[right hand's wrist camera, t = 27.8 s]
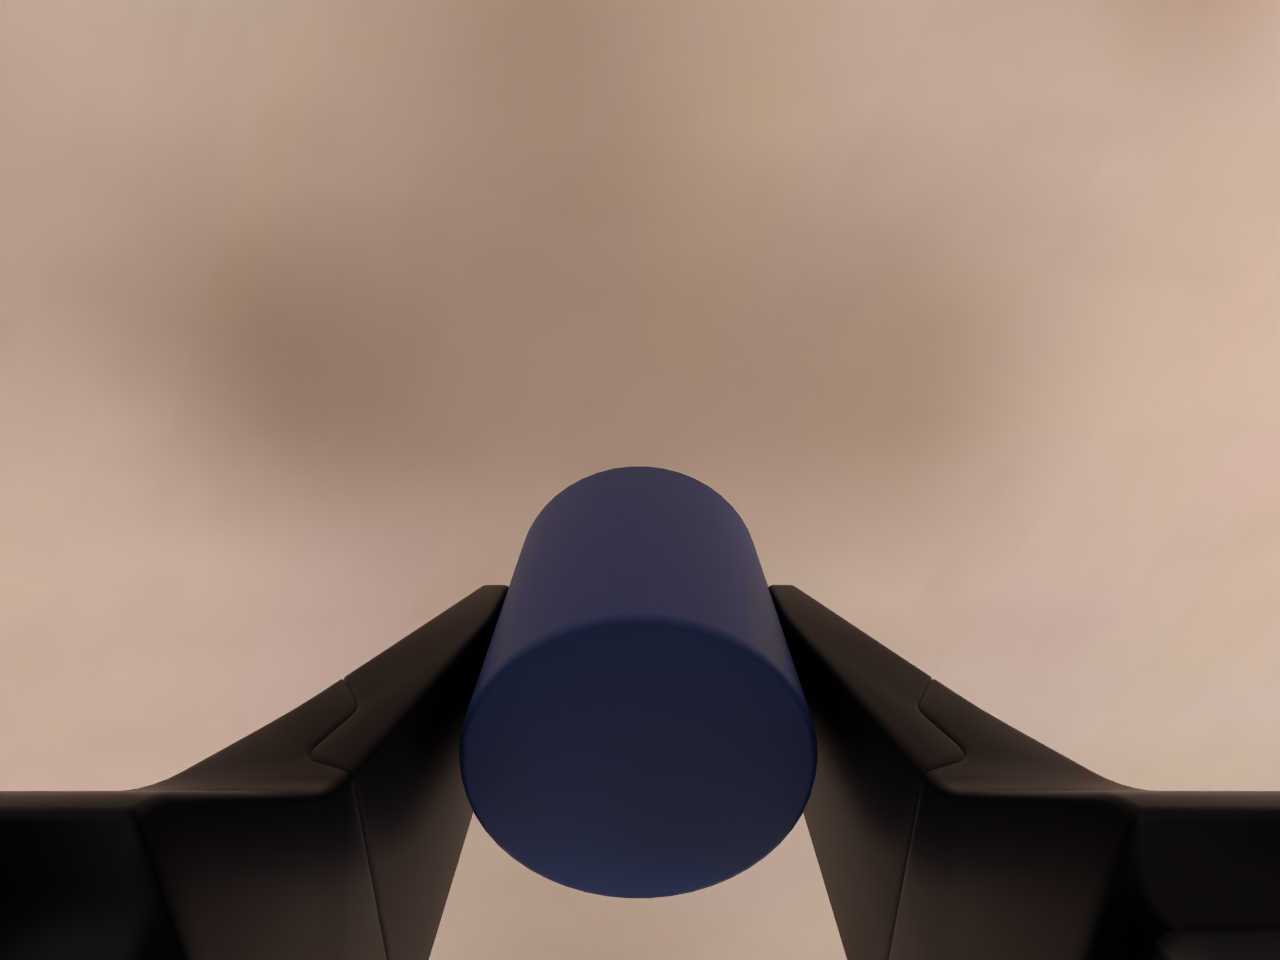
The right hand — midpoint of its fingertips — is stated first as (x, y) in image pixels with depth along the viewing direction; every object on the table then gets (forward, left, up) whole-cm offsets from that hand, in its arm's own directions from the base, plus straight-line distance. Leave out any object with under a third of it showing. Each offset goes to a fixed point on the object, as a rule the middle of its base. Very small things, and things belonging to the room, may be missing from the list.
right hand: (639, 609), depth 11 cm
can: (0, 0, -1) cm, 1 cm away
